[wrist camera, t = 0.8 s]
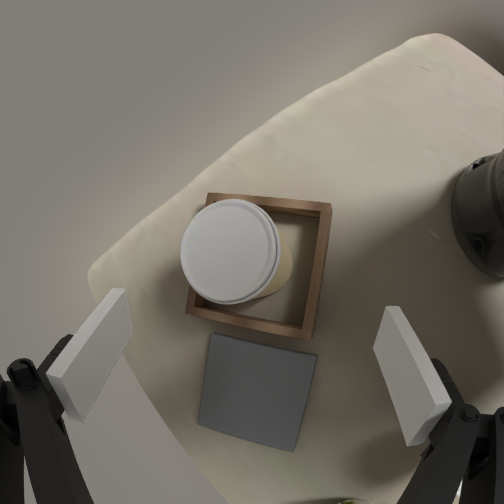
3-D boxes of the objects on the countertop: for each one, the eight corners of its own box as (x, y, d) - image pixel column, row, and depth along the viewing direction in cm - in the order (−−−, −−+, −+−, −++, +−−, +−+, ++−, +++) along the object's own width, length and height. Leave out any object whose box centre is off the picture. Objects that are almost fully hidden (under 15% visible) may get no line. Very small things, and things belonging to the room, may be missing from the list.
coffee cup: (218, 239, 40) (168, 217, 29) (288, 216, 38) (261, 181, 26) (235, 311, 38) (188, 315, 27) (309, 290, 36) (291, 287, 24)
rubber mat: (317, 355, 34) (316, 356, 33) (294, 448, 33) (292, 452, 32) (214, 332, 38) (211, 333, 37) (200, 421, 37) (197, 424, 36)
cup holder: (332, 210, 36) (330, 203, 33) (312, 337, 35) (309, 340, 32) (217, 199, 41) (208, 192, 38) (196, 312, 39) (185, 313, 37)
